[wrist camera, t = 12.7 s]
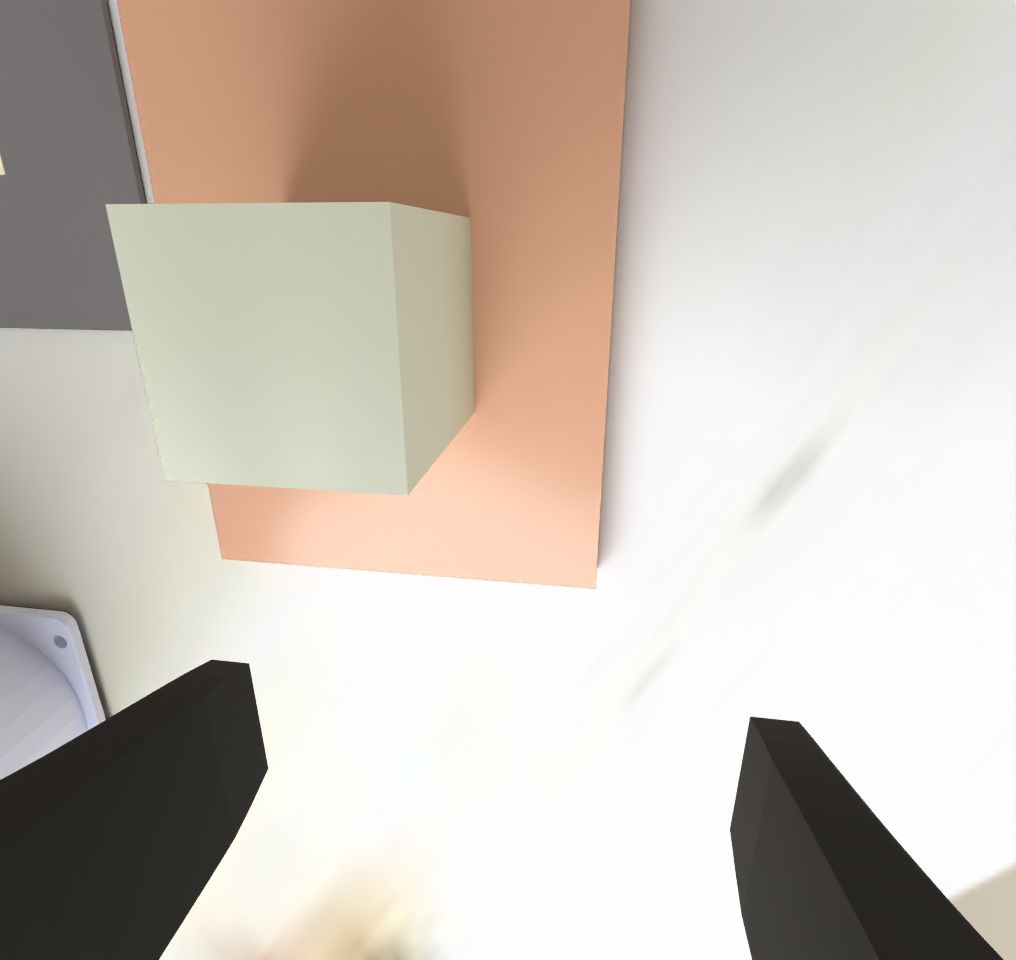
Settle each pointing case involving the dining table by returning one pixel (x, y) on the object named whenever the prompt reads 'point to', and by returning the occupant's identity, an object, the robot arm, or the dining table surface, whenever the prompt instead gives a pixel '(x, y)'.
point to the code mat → (62, 166)
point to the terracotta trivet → (434, 186)
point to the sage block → (300, 339)
